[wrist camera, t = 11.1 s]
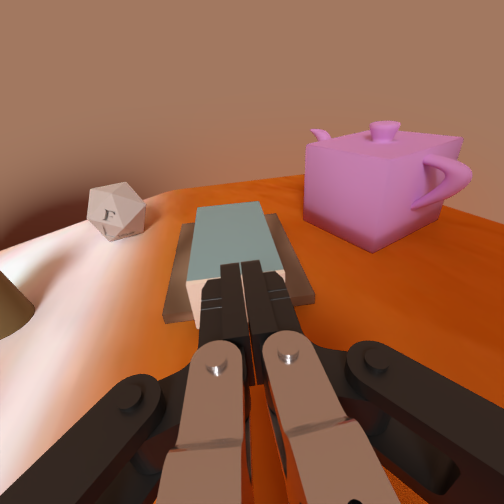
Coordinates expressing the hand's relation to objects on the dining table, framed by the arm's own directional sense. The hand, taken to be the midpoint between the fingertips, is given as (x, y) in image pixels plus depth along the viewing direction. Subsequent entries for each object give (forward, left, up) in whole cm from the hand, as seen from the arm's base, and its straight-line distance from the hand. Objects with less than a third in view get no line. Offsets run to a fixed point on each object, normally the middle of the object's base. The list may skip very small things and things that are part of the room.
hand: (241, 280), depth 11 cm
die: (+17, -33, -13) cm, 39 cm away
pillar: (0, -9, -9) cm, 13 cm away
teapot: (-21, -29, -13) cm, 38 cm away
